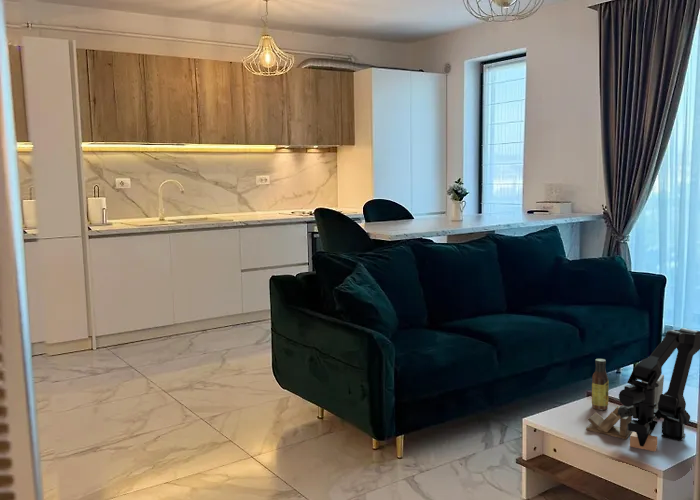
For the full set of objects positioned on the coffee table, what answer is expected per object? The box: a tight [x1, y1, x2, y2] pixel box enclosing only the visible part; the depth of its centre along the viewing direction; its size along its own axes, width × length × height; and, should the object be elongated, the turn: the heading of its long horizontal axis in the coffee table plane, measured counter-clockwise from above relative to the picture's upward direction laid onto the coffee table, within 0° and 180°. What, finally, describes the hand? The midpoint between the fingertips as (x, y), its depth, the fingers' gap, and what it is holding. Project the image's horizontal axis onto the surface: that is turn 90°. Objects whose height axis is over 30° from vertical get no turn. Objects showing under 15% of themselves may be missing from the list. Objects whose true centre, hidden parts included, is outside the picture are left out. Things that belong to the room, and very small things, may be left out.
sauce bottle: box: [591, 358, 610, 411], centre depth 255 cm, size 6×6×20 cm
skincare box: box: [641, 374, 665, 420], centre depth 248 cm, size 8×7×16 cm
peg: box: [629, 432, 658, 452], centre depth 220 cm, size 8×4×4 cm, turn 55°
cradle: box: [585, 406, 633, 440], centre depth 234 cm, size 14×8×9 cm, turn 50°
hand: (643, 443), depth 220 cm, fingers closed on peg, 4 cm apart
